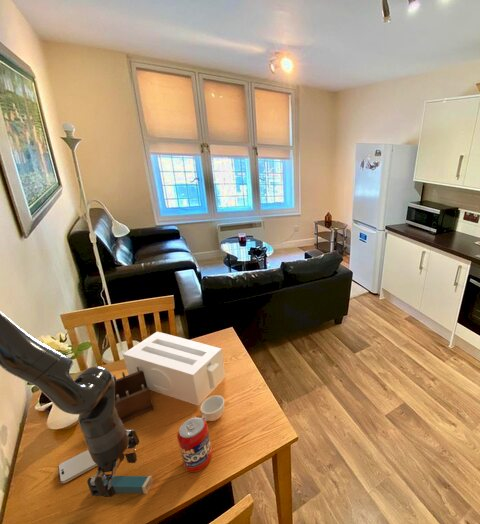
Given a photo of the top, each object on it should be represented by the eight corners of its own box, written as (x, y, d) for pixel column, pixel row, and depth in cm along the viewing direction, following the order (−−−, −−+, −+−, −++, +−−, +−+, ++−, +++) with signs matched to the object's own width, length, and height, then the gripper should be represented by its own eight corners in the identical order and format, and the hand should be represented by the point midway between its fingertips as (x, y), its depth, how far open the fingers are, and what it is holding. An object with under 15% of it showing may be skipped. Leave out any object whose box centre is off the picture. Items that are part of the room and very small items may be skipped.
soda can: (205, 443, 94) (199, 410, 88) (217, 459, 89) (211, 425, 84) (179, 461, 88) (171, 427, 82) (191, 479, 84) (183, 445, 78)
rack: (104, 432, 95) (95, 407, 91) (101, 404, 105) (93, 381, 100) (154, 409, 104) (147, 386, 100) (147, 386, 113) (141, 363, 109)
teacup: (213, 403, 108) (211, 392, 106) (230, 409, 106) (229, 399, 104) (192, 425, 99) (190, 414, 97) (210, 433, 97) (208, 422, 95)
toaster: (129, 386, 113) (120, 355, 108) (163, 359, 128) (157, 331, 122) (204, 410, 106) (198, 378, 100) (231, 379, 120) (228, 350, 114)
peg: (146, 493, 80) (144, 487, 79) (94, 493, 79) (91, 486, 78) (153, 482, 82) (151, 475, 81) (103, 481, 82) (100, 474, 81)
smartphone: (126, 447, 90) (60, 483, 79) (127, 450, 90) (61, 486, 80) (121, 432, 95) (57, 464, 84) (121, 434, 95) (58, 466, 84)
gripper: (112, 413, 80) (126, 452, 86) (66, 466, 66) (87, 507, 73) (139, 413, 80) (151, 452, 86) (100, 466, 67) (117, 507, 73)
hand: (122, 477), depth 79 cm, fingers open, 8 cm apart
